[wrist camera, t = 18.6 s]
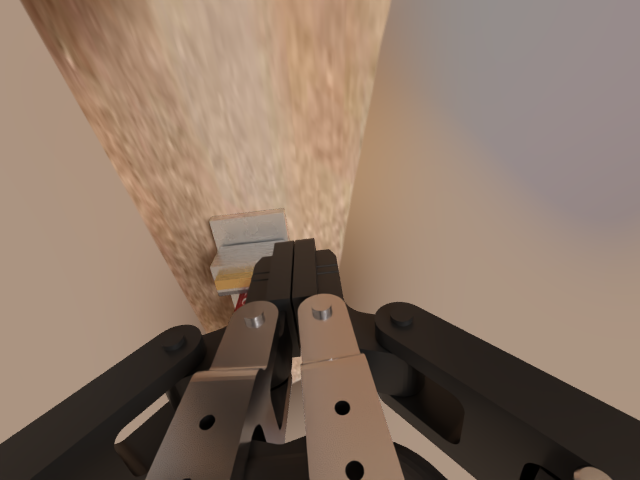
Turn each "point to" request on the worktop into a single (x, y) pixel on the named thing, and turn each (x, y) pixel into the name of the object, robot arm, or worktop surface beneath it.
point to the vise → (249, 229)
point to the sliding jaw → (238, 266)
